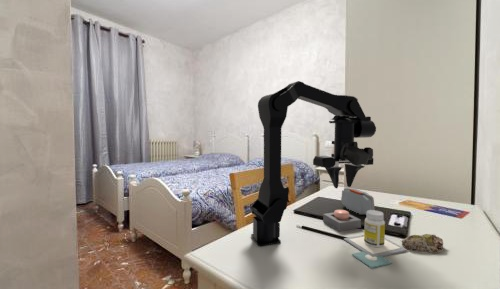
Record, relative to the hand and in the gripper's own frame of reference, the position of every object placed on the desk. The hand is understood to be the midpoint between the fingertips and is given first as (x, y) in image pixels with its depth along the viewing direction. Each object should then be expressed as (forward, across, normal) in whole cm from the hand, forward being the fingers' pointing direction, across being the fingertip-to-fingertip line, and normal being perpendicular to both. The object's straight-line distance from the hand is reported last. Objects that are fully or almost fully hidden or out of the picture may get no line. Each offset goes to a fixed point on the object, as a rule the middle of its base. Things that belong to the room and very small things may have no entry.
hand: (342, 187), depth 77 cm
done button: (+10, 0, 0) cm, 10 cm away
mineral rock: (+13, +10, -18) cm, 24 cm away
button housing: (+12, 0, 0) cm, 12 cm away
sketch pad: (+12, -1, -14) cm, 18 cm away
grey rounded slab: (+12, +13, +8) cm, 20 cm away
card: (+12, -7, -19) cm, 24 cm away
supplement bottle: (+12, -1, -14) cm, 18 cm away
